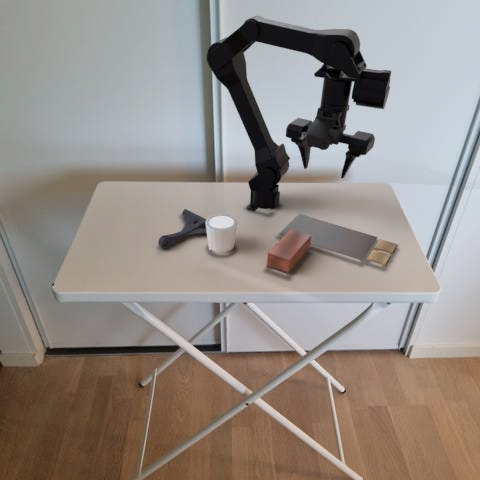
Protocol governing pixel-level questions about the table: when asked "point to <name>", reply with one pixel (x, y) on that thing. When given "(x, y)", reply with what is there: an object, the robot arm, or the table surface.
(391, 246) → the cork bit
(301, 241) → the reddish orange block
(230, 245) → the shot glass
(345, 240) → the board
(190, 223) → the bracket
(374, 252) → the cork bit
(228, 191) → the table surface
